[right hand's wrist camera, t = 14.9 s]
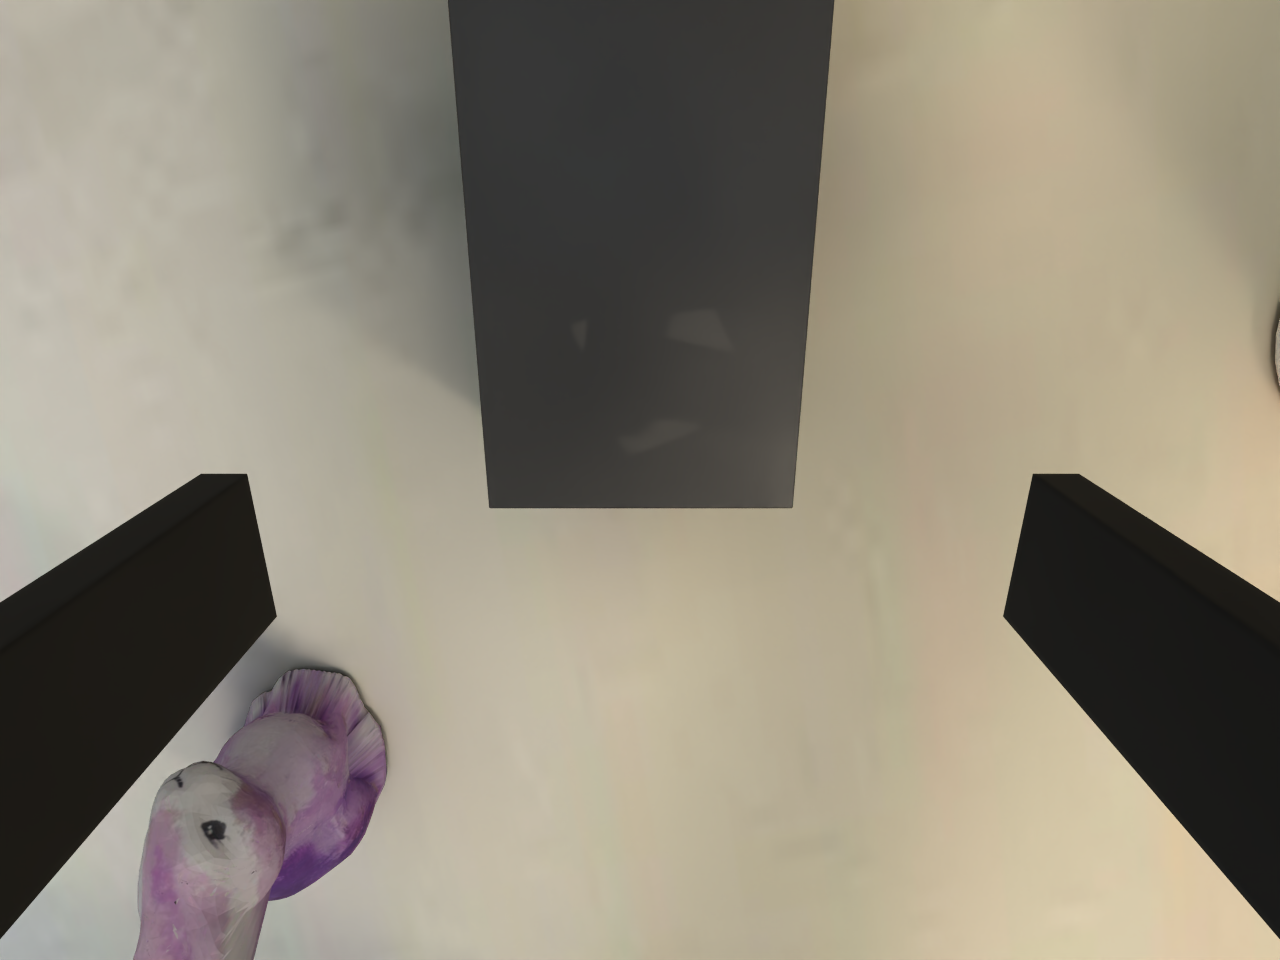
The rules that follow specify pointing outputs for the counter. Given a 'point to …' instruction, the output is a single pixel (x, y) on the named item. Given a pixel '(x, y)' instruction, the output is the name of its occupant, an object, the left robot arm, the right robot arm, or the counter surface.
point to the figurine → (258, 819)
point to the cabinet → (641, 243)
